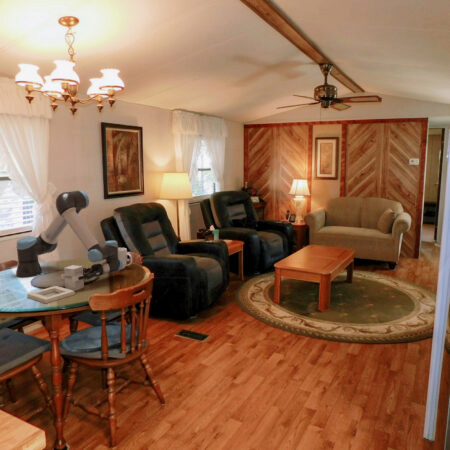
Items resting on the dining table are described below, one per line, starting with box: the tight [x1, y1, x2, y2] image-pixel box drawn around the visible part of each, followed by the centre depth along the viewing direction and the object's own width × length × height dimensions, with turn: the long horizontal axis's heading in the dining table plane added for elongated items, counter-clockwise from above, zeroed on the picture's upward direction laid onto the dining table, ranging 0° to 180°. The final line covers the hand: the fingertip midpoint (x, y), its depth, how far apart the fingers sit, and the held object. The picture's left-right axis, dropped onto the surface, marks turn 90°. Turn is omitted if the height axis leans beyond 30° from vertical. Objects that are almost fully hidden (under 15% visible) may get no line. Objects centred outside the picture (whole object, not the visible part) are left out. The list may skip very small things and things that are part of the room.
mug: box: [118, 247, 133, 270], centre depth 281 cm, size 15×11×13 cm
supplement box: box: [63, 264, 85, 292], centre depth 239 cm, size 7×7×13 cm
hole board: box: [26, 285, 76, 304], centre depth 227 cm, size 17×17×2 cm
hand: (67, 278), depth 235 cm, fingers open, 9 cm apart
